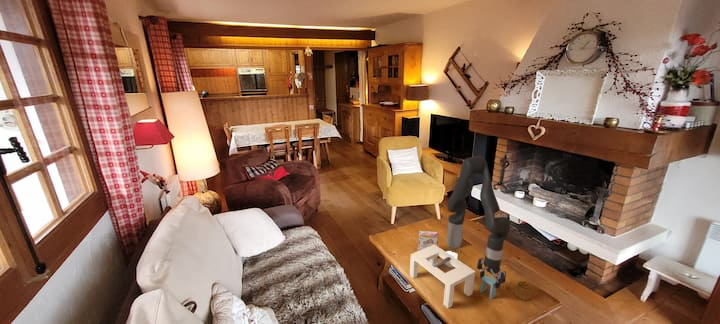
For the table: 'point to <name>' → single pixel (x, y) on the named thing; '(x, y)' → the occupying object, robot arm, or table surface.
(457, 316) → the table surface
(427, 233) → the candy bar box
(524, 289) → the ornamental finial
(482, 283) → the teal u-channel bracket
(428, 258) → the cutout shelf
